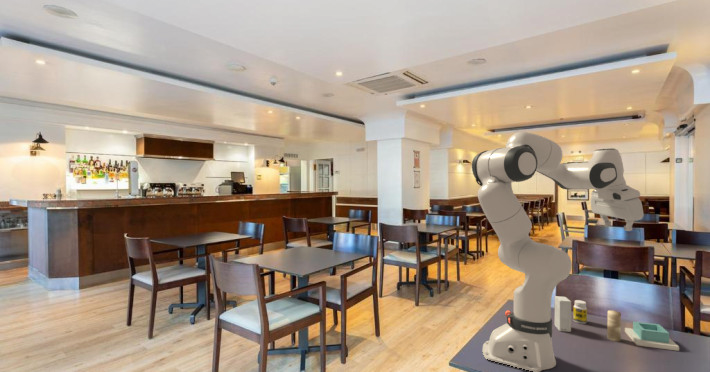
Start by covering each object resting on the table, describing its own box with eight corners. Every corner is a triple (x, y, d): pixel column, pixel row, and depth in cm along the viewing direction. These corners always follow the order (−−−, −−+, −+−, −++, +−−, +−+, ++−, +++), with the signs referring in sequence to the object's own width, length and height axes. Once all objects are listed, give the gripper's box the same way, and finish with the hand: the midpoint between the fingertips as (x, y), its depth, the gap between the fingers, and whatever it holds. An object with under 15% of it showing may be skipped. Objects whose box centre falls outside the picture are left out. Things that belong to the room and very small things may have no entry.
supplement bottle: (574, 323, 146) (574, 302, 146) (572, 318, 151) (572, 299, 150) (588, 324, 145) (588, 304, 144) (585, 320, 149) (585, 300, 149)
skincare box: (571, 332, 138) (571, 301, 137) (559, 331, 139) (559, 300, 138) (565, 325, 144) (565, 296, 143) (554, 325, 144) (554, 295, 144)
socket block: (636, 345, 127) (636, 331, 127) (624, 331, 138) (625, 318, 138) (679, 350, 122) (679, 336, 122) (663, 336, 134) (663, 323, 133)
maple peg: (609, 340, 130) (609, 313, 130) (605, 336, 134) (606, 309, 134) (622, 342, 129) (622, 315, 129) (618, 337, 133) (618, 311, 133)
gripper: (583, 191, 140) (589, 224, 141) (626, 196, 120) (633, 235, 121) (598, 187, 140) (604, 221, 142) (644, 192, 120) (650, 231, 121)
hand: (617, 228), depth 131 cm, fingers open, 8 cm apart
